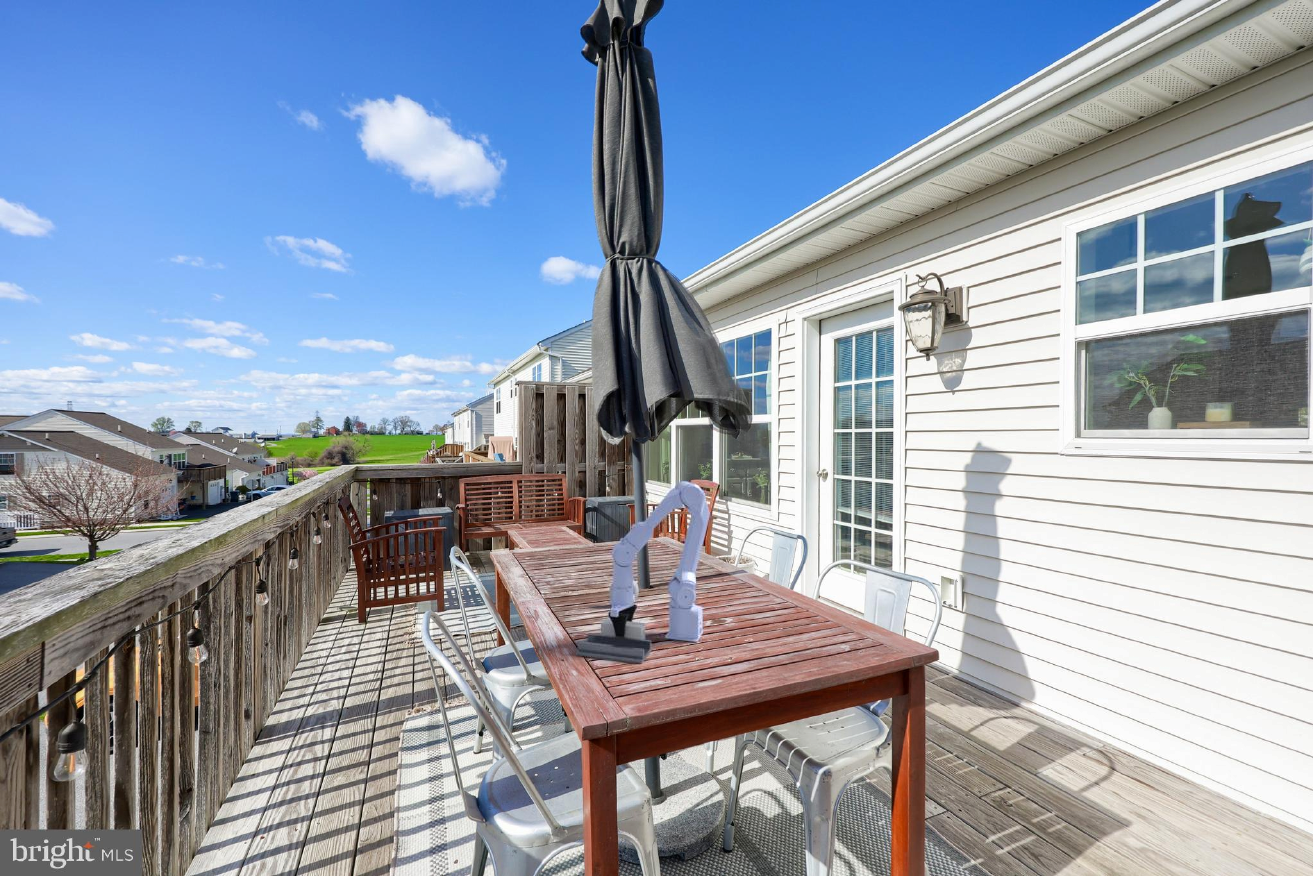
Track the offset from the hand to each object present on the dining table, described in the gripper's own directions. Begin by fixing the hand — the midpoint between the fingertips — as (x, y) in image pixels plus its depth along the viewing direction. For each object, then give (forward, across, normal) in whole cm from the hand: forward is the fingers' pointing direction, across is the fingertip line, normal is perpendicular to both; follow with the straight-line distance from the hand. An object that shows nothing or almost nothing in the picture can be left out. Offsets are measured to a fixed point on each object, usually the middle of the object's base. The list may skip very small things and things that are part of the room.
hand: (623, 634), depth 152 cm
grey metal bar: (+2, 0, 0) cm, 2 cm away
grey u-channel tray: (+2, +9, +1) cm, 9 cm away
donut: (+2, -28, -10) cm, 30 cm away
